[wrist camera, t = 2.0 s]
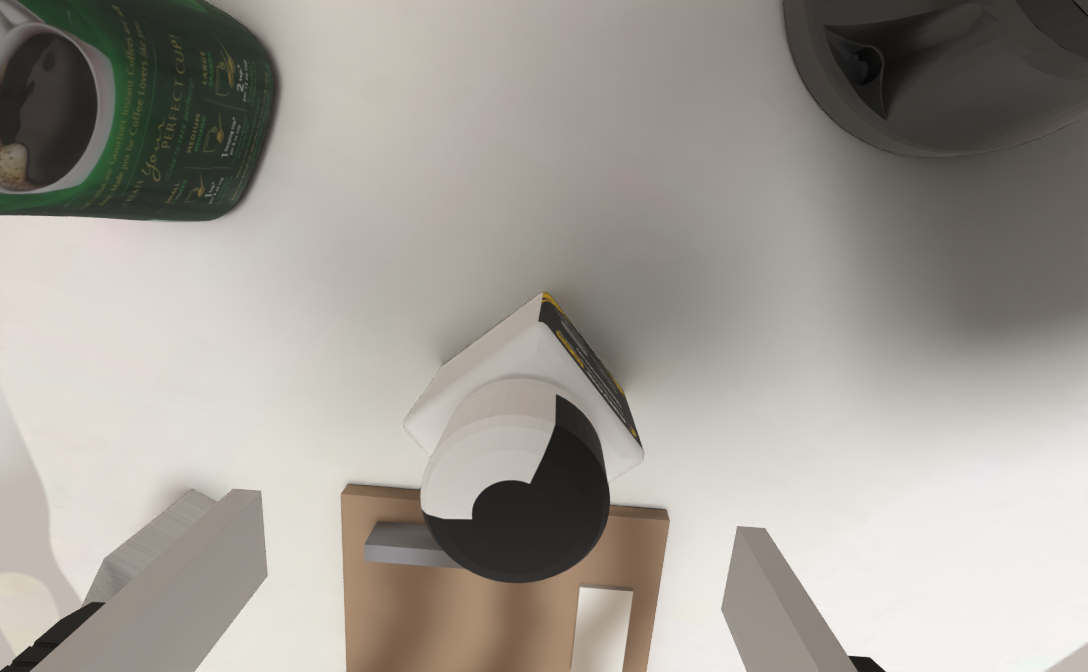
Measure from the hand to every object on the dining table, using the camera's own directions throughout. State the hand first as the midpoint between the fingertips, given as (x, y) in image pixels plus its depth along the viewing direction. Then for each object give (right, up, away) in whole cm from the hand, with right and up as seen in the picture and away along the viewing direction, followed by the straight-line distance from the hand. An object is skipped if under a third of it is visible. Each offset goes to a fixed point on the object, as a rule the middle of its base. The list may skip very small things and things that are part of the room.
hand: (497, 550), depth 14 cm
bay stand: (-2, -18, +19) cm, 26 cm away
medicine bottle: (+1, +4, +13) cm, 14 cm away
